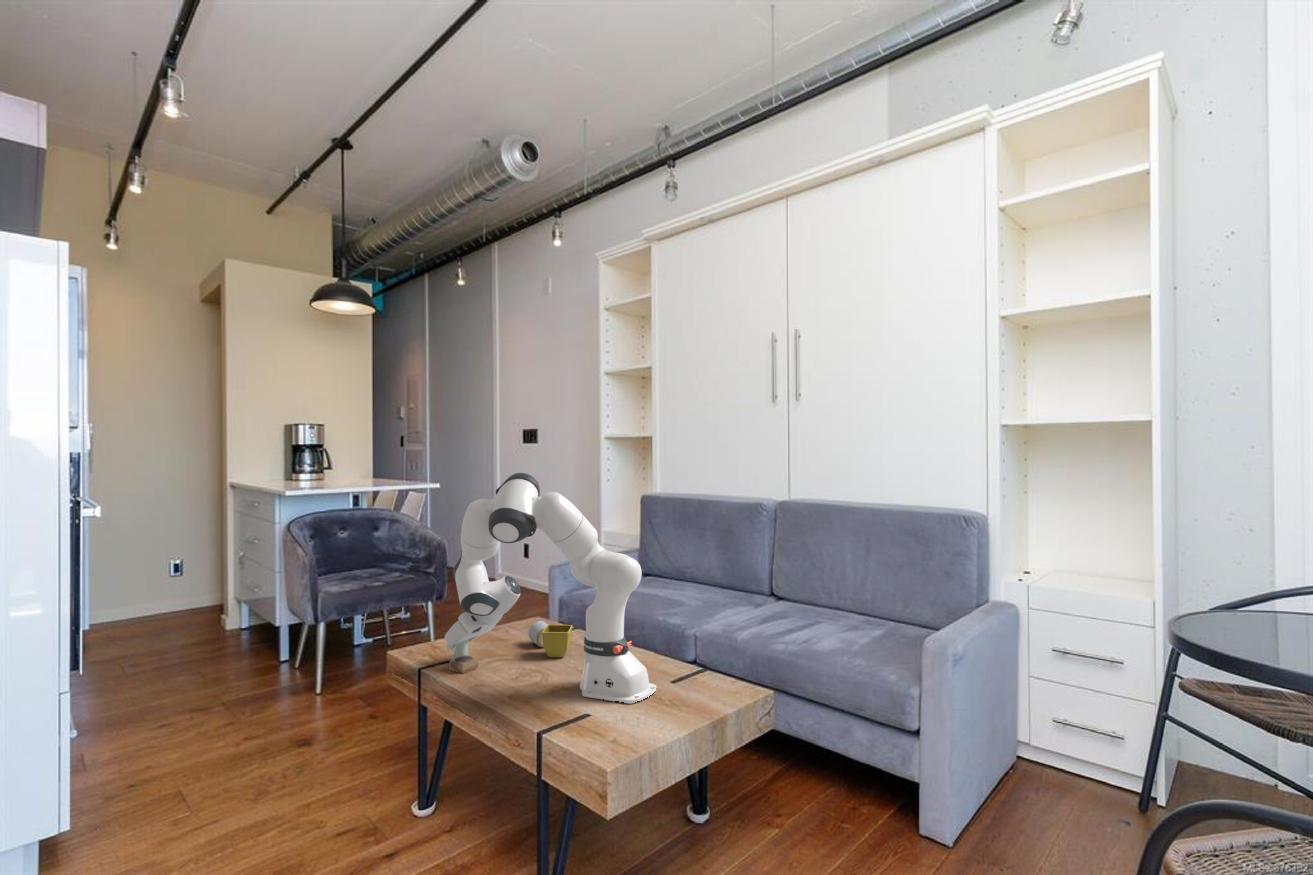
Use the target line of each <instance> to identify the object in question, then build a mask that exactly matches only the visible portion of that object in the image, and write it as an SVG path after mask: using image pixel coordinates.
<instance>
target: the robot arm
mask: <svg viewBox="0 0 1313 875" xmlns="http://www.w3.org/2000/svg"><path fill="white" fill-rule="evenodd" d="M540 490H541V489H540V485H539V482H538V480H537V479H536V478H535V477H534V476H533V475H531V474H529V473H526V472H518V473H517V472H516V473H514V474H511V475H510V476H508V477H507V478H506V479H505V481H504V482H503V483H501V485H500V486H499V487H497V489H496V490H495V496H494V497H493V498H491V499H490V498H489V499H487V498H480V499H476V500H474V501H472V502H471V503H470V504H469V505H468V506H467V508H466V510H465V512H464V516H463V519H462V524H461V531H460V545H461V554H460V558H458V561H457V562H456V563H455V565H454V567H453V570H452V573H453V577H454V580H455V584H456V590H457V595H458V596H457V597H458V600H459V605H460V608H461V609H462V611H463V613H461V614H460V615H459V616H458V617H457V619H458V620H457V621H456V622H454V623H453V625H452V626H451V627H450V628H449V630H448V631H447V632H446V633H445V635H444V640H445V642H446V643H447V644H446V648H447V650H448V651H450V650H452V649H453V650H454V647H455V644H458V643H460V642H463V641H466V640H468V643H469V642H473V641H474V640H475V639H476V638H478V637H479V636H481V635H483V634H486V633H489V632H490V631H492V630H493V629H494V628H495V627H496V626H497V624H498V623H499V621H500V620H501V619H502V618H503V616H504V614H506V613H508V612H509V611H510V610H511V609H512V608H513V607H514V606H515V604H516V603H517V601H518V600H519V598H520V597H521V591H522V590H521V588H520V585H519V584H520V583H518V582H517V580H516V579H515V578H514V577H512V576H511V575H505V576H503V577H501V578H500V579H497V580H494V581H493V580H492V581H490V580H489V575H488V571H487V564H486V560H489V559H491V558H493V557H494V556H495V555H497V553H498V551H499V548H500V545H501V543H503V544H515V543H518V542H521V541H523V540H524V539H526V538H529V537H532V536H534V535H535V533H536V531H537V529H539V530H541V531H542V532H543V533H544V534H545V535H546V536H547V538H549V539H550V541H552V543H553V544H554V545H555V546H556V547H557V549H559V551H560V552H561V553H562V554H563V555H564V556H565V558H566V559H567V560H568V562H569V564H570V572H571V575H572V576H573V578H574V579H576V580H577V581H578V582H580V583H581V584H583V585H585V586H589V587H593V588H595V589H596V594H595V598H594V601H593V603H592V604H590V605H589V606H588V607H587V608H586V611H585V635H584V637H583V651H584V664H583V669H582V675H581V679H580V682H579V683H580V684H579V689H580V690H581V696H582V697H584V698H591V699H597V700H603V699H604V700H603V701H608V702H609V701H611V702H615V701H619V702H618V703H621V702H624V703H623V704H629V705H631V704H635V702H636V703H638V702H637V701H640V702H642V701H644V700H643V699H645V698H647V697H648V698H650V697H651V696H650V695H652V694H653V693H654V692H655V691H656V692H657V690H656V688H657V685H656V684H654V683H653V682H652V683H651V682H650V679H649V675H648V674H649V672H648V669H647V668H646V666H645V665H644V664H643V663H642V662H640V661H639V659H638V658H636V656H635V655H634V654H633V653H632V652H631V651H630V648H629V646H632V645H633V644H632V640H630V641H627V639H626V636H625V634H624V633H625V612H626V606H627V602H628V599H629V597H630V595H631V593H632V592H633V591H635V590H636V589H637V587H638V586H639V585H640V583H641V580H642V576H643V575H642V574H643V573H642V567H641V565H640V563H639V561H637V559H634V558H633V557H631V556H629V555H627V554H625V553H620V552H616V551H610V550H607V549H605V548H604V547H603V546H601V545H600V543H599V541H598V539H599V535H598V530H597V529H596V528H595V527H594V526H593V524H592V523H591V522H590V521H589V519H588V518H586V516H585V515H584V514H583V513H582V512H581V511H580V510H579V509H578V508H577V507H576V506H575V504H574V503H572V501H570V500H569V499H568V498H567V497H565V496H564V495H562V494H561V493H560V492H555V491H550V492H547V493H545V494H542V495H540V494H541V492H540ZM657 689H658V688H657ZM656 692H655V693H656ZM655 693H654V694H655ZM654 694H653V695H654ZM653 695H652V696H653ZM649 696H650V697H649ZM648 698H647V699H648ZM641 700H642V701H641ZM645 700H646V699H645Z"/></svg>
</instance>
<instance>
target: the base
mask: <svg viewBox="0 0 1313 875" xmlns="http://www.w3.org/2000/svg"><path fill="white" fill-rule="evenodd" d="M448 667H449V669H450V670H449V669H448V670H449V671H451V670H453V671H452V672H454V671H457V672H456V673H458V672H460V673H459V674H462V673H463V674H466V673H468V672H467V671H469V672H471V670H472V671H474V670H476V668H477V669H479V658H477V657H473V656H469V655H468V656H466V655H464V656H461V657H458V658H455V659H454V658H453V659H450V660H449V666H448ZM473 669H474V670H473ZM465 672H466V673H465Z"/></svg>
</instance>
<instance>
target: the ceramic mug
mask: <svg viewBox="0 0 1313 875" xmlns="http://www.w3.org/2000/svg"><path fill="white" fill-rule="evenodd" d="M547 625H549V624H548V623H546V621H543V620H538V621H537V620H536V621H535V622H533V623H532V624H531V626H530V627H529V629H528V638H529V640H531V642H532V643H534V644H536V645H537V646H538V647H540V648H542V649H544V645H543V636H542V632H543V630H544V629H545V627H546V626H547Z"/></svg>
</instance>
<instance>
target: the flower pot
mask: <svg viewBox="0 0 1313 875" xmlns="http://www.w3.org/2000/svg"><path fill="white" fill-rule="evenodd" d="M572 633H573V625H572V624H548V625H547V626H546V627H545V629H544V630H543V632H542V636H543V645H544V648H543V649H544V653H545V654H546V655H547V657H548V658H561V657H562V658H565V655H566V654H567V652H568V650H569V647H570V644H571V640H572Z"/></svg>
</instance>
